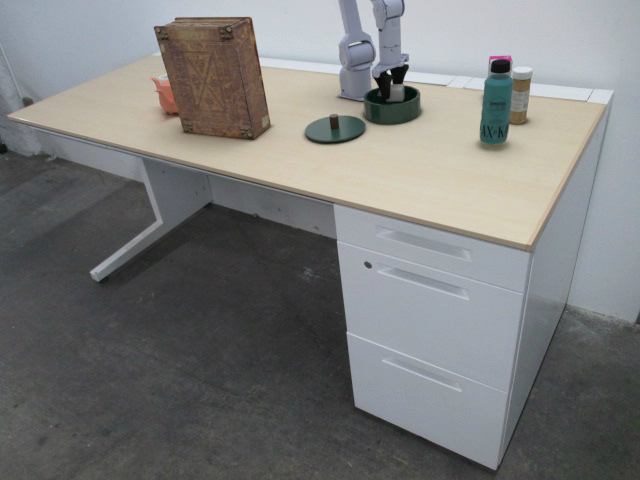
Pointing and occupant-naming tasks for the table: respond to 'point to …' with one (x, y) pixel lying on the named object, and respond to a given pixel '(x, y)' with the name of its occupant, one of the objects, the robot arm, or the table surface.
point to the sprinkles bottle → (520, 94)
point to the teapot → (165, 96)
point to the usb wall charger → (396, 93)
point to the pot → (392, 107)
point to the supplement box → (496, 59)
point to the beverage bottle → (496, 104)
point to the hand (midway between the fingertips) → (391, 94)
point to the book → (215, 75)
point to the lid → (335, 128)
